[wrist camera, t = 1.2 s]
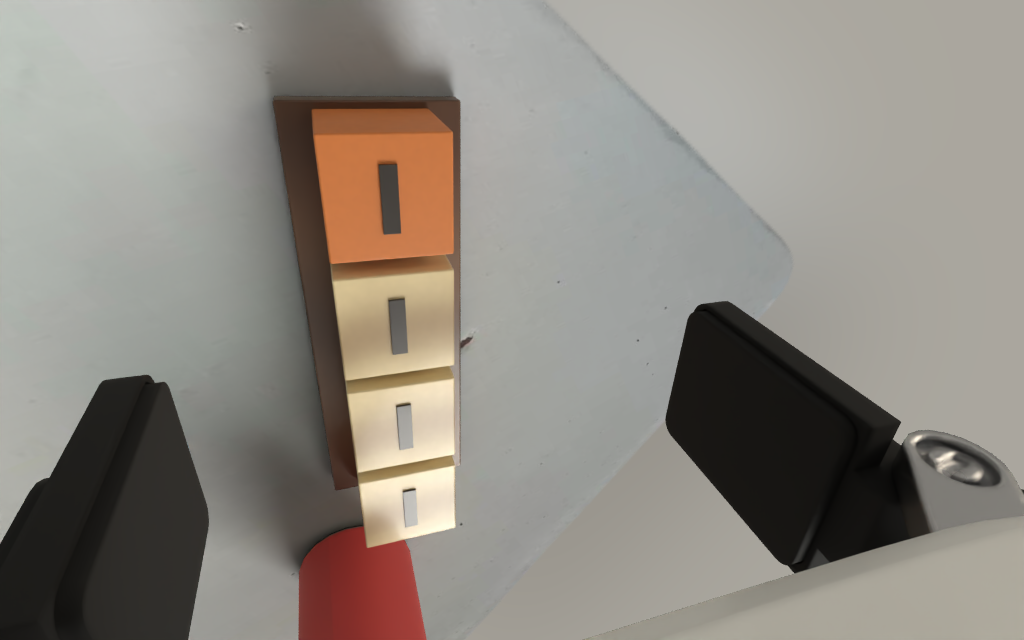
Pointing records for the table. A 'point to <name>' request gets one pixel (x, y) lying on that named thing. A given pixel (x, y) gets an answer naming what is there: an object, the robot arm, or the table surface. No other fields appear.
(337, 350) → the slotted cubes on board
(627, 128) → the table surface
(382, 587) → the beer can
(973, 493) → the robot arm
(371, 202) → the orange slotted cube
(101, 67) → the table surface
